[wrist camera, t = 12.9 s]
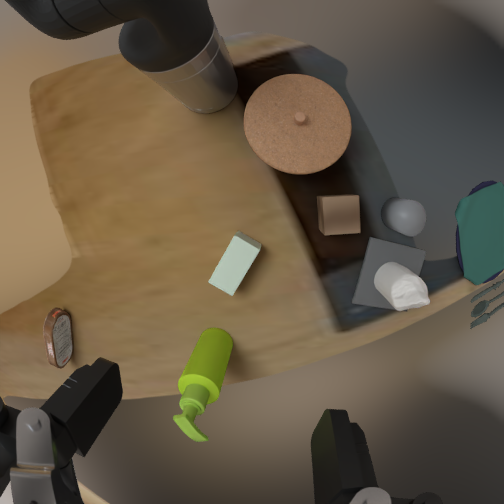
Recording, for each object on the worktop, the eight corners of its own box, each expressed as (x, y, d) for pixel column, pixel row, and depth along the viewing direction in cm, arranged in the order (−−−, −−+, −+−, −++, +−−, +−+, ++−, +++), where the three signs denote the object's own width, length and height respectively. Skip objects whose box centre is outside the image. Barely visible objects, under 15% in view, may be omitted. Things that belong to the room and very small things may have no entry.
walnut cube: (316, 195, 39) (322, 197, 34) (348, 194, 38) (358, 195, 33) (318, 229, 40) (324, 235, 35) (350, 227, 39) (360, 232, 34)
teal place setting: (504, 170, 33) (511, 170, 31) (513, 297, 39) (518, 301, 37) (441, 196, 37) (448, 197, 34) (456, 334, 43) (461, 340, 41)
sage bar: (238, 230, 41) (234, 235, 37) (261, 243, 41) (260, 250, 37) (214, 273, 43) (208, 282, 39) (236, 286, 43) (232, 296, 39)
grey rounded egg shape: (384, 194, 37) (401, 196, 32) (410, 202, 37) (429, 205, 31) (378, 225, 39) (393, 232, 33) (404, 232, 38) (421, 239, 33)
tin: (62, 301, 48) (38, 316, 39) (72, 306, 48) (48, 323, 39) (67, 352, 51) (48, 369, 43) (76, 357, 51) (57, 376, 43)
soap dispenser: (212, 362, 47) (183, 445, 28) (194, 333, 46) (152, 412, 26) (241, 354, 46) (222, 441, 27) (223, 323, 45) (191, 406, 25)
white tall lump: (403, 333, 29) (402, 294, 28) (375, 297, 41) (371, 265, 40) (441, 318, 28) (441, 280, 27) (406, 287, 40) (403, 256, 39)
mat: (369, 236, 39) (370, 237, 39) (424, 250, 39) (426, 251, 38) (351, 301, 42) (352, 303, 41) (405, 309, 41) (406, 311, 41)
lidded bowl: (293, 81, 34) (299, 48, 24) (352, 140, 36) (378, 126, 25) (232, 133, 37) (217, 115, 27) (291, 194, 39) (298, 197, 28)
